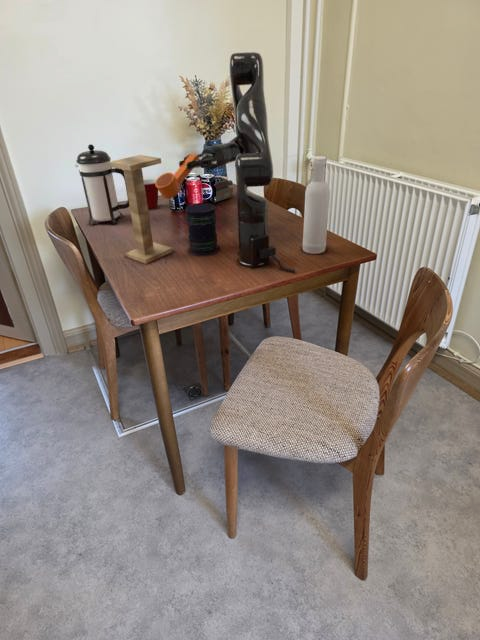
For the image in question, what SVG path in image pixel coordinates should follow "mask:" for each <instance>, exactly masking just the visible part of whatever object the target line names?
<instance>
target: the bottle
mask: <svg viewBox="0 0 480 640" xmlns="http://www.w3.org/2000/svg"><path fill="white" fill-rule="evenodd" d="M312 164H313V165H312V166H313V168H312V171H313V172H312V180H311V182H309V183H308V184H307V186H306V189H305V191H304V193H305V195H304V211H303V213H304V214H303V231H302V233H303V235H302V251H303V252H304V253H306V254H310V255H311V254H312V255H319V254H322V253H324V252H326V248H327V236H328V223H329V209H330V199H331V198H330V197H331V189H330V185H329V184H328V183H327V182H326V180H325V177H326V175H325V174H326V164H327V158H326V157H325V156H324V155H323V156H322V155H317V156H314V157H313V161H312Z"/></svg>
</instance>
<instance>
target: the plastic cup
mask: <svg viewBox="0 0 480 640" xmlns="http://www.w3.org/2000/svg"><path fill="white" fill-rule="evenodd" d="M143 180H144V187H145V193H146V200H147V206H148V211H149V210H155V209H157V208H158V206H159V202H158V201H159V190H158V189H157V187H156V185H155V182H156V180H157V179H155V178H154V179H151V178H150V179H148V178H147V179H143Z"/></svg>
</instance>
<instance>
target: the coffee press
mask: <svg viewBox="0 0 480 640" xmlns="http://www.w3.org/2000/svg"><path fill="white" fill-rule="evenodd" d="M87 149H88V150H86V151H83V152H80V153H79V154H78V155H77V158H76V162H75V165H74V167H75V168H78V169H79V170H78V172H79V176H80V179H81V183H82V187H83V191H84V195H85V201H86V204H87V209H88V214H89V220H88V225H90V226H93V225H94V224H95V223H96V222H110V223H111V225H117V221H116V219H117V218H118V217H119V218H122V217H123V214H122V212H120V210H126V209H129V208H130V206H129V200H128V199H127V202H126V203H124V204H121V203H120V204H119V202H118V196H117V192H116V191H117V190H116V186H115V180H114V174H113V173H115V174H119V175H121V176H122V178H123V180H124V181H125V177H124V171H123V169H118V168H113V167H110V165H109V162H111V161H112V159H111V156H109V155H110V154H108V152H107V151H104V150H99V149H97V150H96V149H95V146H94V145H93V144H88V146H87ZM124 185H125V186H126V183H125V182H124ZM125 189H126V191H125V192H127V188H126V187H125ZM126 196H127V198H128V194H127V193H126ZM92 220H93V221H92Z"/></svg>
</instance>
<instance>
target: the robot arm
mask: <svg viewBox="0 0 480 640" xmlns="http://www.w3.org/2000/svg"><path fill="white" fill-rule="evenodd" d="M228 65H229V81H230V90H231V98H232V105H233V110H234V129H235V135H236V136H235V137H233V138H232V139H231V140H229V141H228V142H225V143H219V144H218V143H217V144H215V145H210V146H207V147H205V148H203V150H202V151H201V152H200V153H197V154H196V155H197V156H198V158H199V159H197V160H195V161H196V162H195V161H191V162H187V169H192V168H193V169H199V168H201V169H204V168H207V169H208V170H212V169H216V168H219V167H220V168H221V167H223V166H225V165H227V164H229V163H233V162H234V173H235V181H236V182H235V183H236V184H235V185H236V199H237V203H236V204H237V207H236V208H237V233H238V236H237V237H238V251H237V256H238V262H239V263H240V264H241V265H243V266H246V267H251V268H252V269H253V268H254V269H255V268H257V267H261V266H264V265H268V264H270V258H272V259H273V260H274V261H275V262H276V263H277V264H278V266H279V268H280V269H281V270H283V271H285V272H292V273H295V272H296V270H295V269H292V268H286V267H284V266H283V265H282V263H281V261H280V260H279V259H278V258H277V257H276V255H277V254H276V253H277V252H276V251H277V250H276V249H277V248H276V246H274V245H270V235H269V233H268V231H269V228H268V227H269V219H268V218H269V203H268V199H267V198H266V197H265V196H262V195H259V194H256V193H254V192H253V191H250V189H248V188H250V187H251V188H254V187H266V186H270V184H272V181H273V179H274V165H273V160H272V159H273V158H272V152H271V145H270V140H269V129H268V128H269V127H268V112H267V104H266V97H265V80H264V79H265V78H264V74H265V71H264V61H263V57H262V55H261V53H259V52H256V51H255V52H254V51H249V52H234V53H232V54H231V55H230V57H229V63H228ZM241 86H250V87H249V88H248V90H247V91H246V92H245V93H244V94H243V92H242V90H241ZM189 156H190V154H187V155H186V156H184V157H183V160H180V161H179V162H178V165H179V168H180V167H181V165H182V164H183V163H184V162H185V160H186V159H187V158H188V157H189ZM193 169H192V170H193Z"/></svg>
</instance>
